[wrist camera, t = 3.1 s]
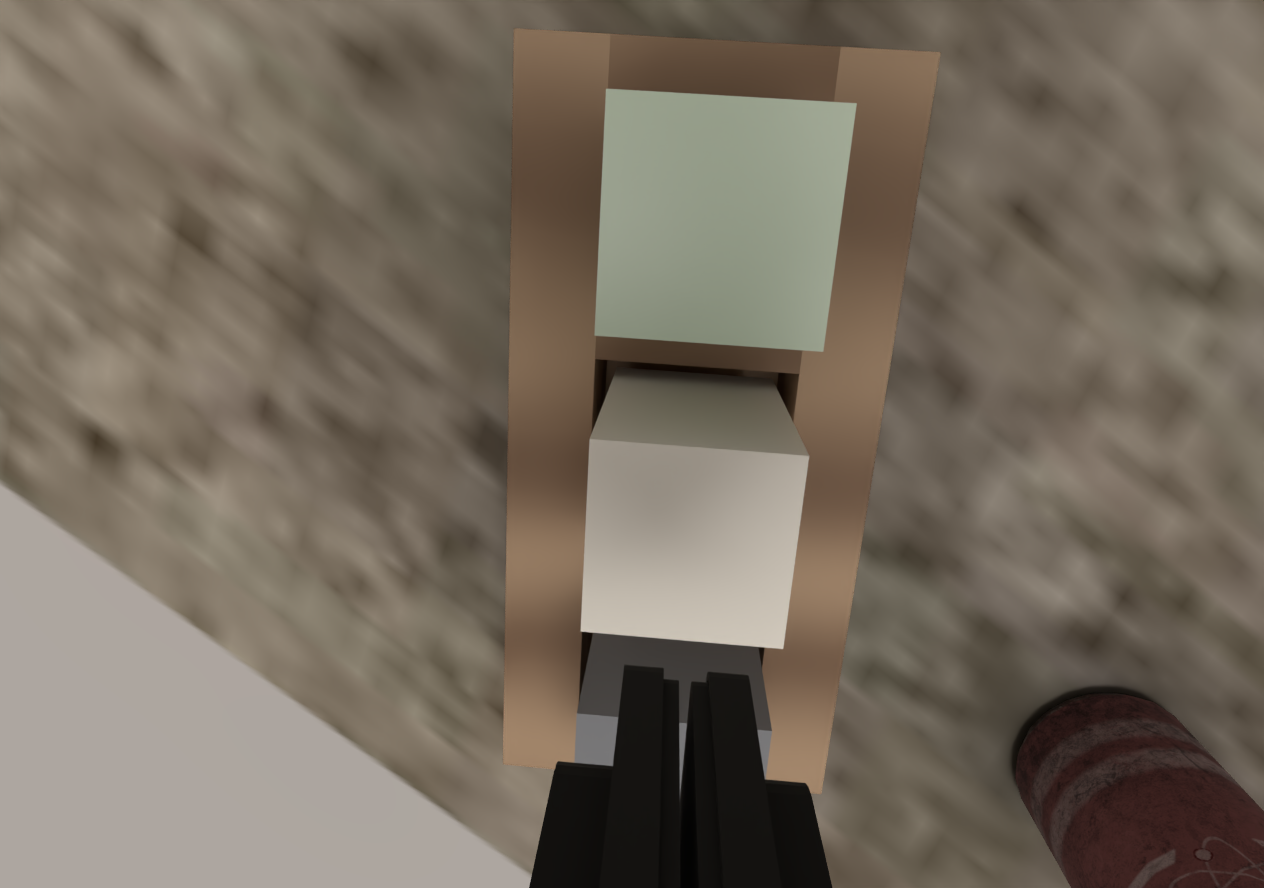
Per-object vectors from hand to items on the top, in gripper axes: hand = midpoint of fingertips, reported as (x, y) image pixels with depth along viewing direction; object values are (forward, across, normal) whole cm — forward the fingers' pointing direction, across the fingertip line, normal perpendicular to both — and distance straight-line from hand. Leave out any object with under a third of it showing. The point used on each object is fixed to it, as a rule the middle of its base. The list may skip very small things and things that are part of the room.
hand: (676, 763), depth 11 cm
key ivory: (+13, 0, 0) cm, 13 cm away
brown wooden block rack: (+17, 0, 0) cm, 17 cm away
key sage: (+13, 0, -7) cm, 15 cm away
